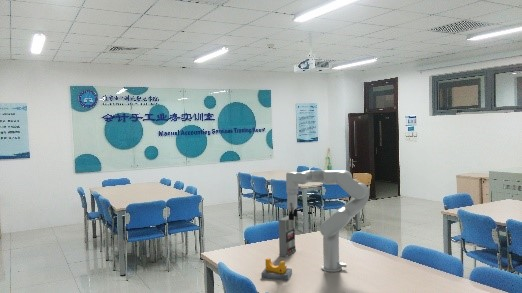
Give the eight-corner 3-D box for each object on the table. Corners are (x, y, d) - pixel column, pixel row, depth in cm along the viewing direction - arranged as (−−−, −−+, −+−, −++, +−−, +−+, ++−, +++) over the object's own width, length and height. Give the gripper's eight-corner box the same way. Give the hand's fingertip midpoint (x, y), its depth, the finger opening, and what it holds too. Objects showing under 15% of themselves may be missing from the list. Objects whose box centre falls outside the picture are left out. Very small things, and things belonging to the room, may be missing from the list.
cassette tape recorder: (287, 256, 276) (286, 220, 275) (279, 255, 279) (278, 219, 278) (296, 251, 288) (295, 216, 287) (288, 250, 291) (287, 215, 290)
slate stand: (292, 273, 244) (292, 268, 244) (288, 280, 234) (288, 275, 234) (266, 271, 249) (266, 266, 249) (261, 278, 239) (261, 273, 238)
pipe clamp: (286, 271, 240) (286, 260, 240) (282, 273, 237) (282, 262, 237) (269, 267, 247) (269, 257, 247) (265, 269, 244) (265, 259, 243)
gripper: (289, 189, 267) (290, 214, 268) (283, 193, 250) (284, 220, 251) (300, 189, 265) (301, 215, 266) (295, 193, 248) (296, 221, 249)
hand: (293, 218), depth 258 cm, fingers open, 9 cm apart
